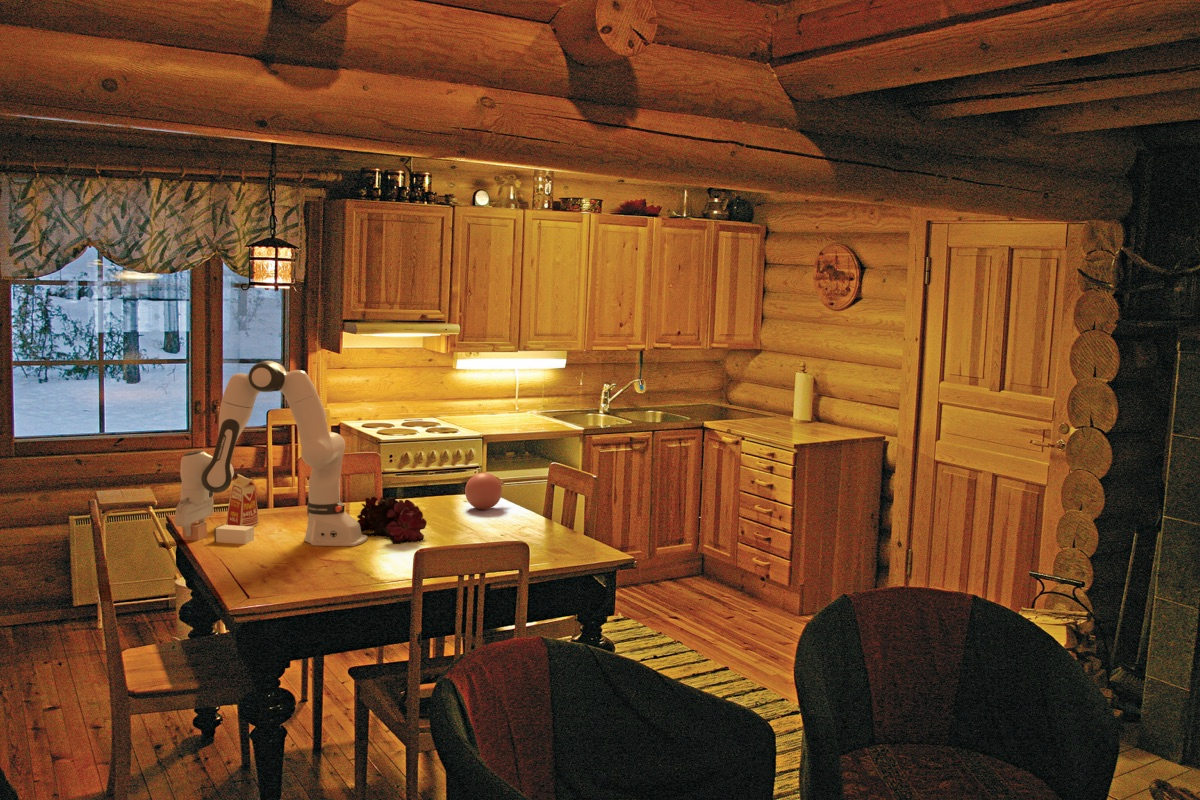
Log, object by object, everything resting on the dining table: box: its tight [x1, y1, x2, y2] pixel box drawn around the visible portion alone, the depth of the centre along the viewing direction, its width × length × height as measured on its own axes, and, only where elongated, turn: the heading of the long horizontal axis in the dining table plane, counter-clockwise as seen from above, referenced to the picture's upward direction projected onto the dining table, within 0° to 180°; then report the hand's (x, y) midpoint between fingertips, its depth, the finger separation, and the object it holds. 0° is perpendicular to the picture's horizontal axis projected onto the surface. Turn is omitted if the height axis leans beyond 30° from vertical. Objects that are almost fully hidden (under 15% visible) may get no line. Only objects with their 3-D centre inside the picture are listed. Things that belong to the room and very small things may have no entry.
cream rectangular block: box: [213, 523, 255, 545], centre depth 383 cm, size 12×6×5 cm, turn 81°
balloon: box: [464, 472, 505, 511], centre depth 450 cm, size 15×20×15 cm
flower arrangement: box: [356, 496, 428, 545], centre depth 400 cm, size 31×20×15 cm, turn 53°
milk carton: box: [225, 473, 260, 528], centre depth 407 cm, size 9×9×20 cm
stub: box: [181, 522, 208, 542], centre depth 385 cm, size 6×6×5 cm
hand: (194, 533), depth 386 cm, fingers closed on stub, 6 cm apart
